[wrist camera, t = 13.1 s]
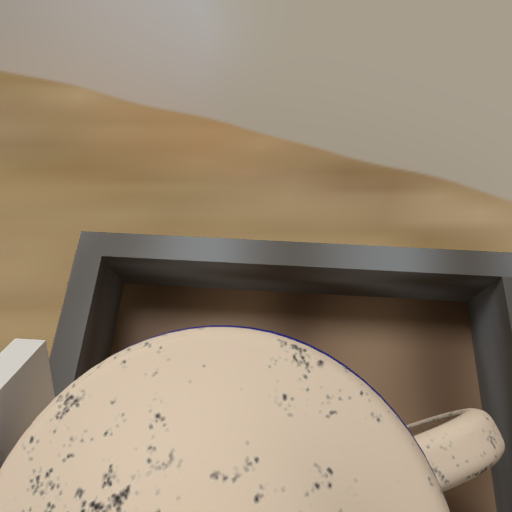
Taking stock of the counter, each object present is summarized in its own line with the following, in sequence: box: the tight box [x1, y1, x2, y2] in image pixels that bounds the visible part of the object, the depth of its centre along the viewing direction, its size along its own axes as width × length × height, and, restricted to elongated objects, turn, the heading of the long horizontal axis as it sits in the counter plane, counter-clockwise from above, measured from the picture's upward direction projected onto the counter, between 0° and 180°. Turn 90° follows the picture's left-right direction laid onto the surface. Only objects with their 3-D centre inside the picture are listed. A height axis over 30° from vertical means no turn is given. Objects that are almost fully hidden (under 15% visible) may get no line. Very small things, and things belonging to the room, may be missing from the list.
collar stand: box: [49, 231, 512, 512], centre depth 16 cm, size 20×18×5 cm
